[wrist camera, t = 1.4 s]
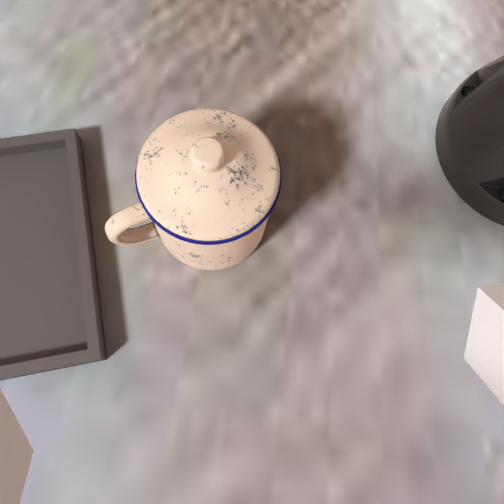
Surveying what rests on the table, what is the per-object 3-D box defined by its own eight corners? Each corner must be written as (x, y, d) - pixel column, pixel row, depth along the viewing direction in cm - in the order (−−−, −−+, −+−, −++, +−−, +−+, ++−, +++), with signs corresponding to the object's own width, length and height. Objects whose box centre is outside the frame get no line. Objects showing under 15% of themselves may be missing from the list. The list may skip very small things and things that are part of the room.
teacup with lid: (240, 151, 38) (247, 59, 27) (287, 246, 36) (316, 190, 25) (103, 205, 36) (49, 129, 25) (145, 308, 34) (108, 276, 23)
